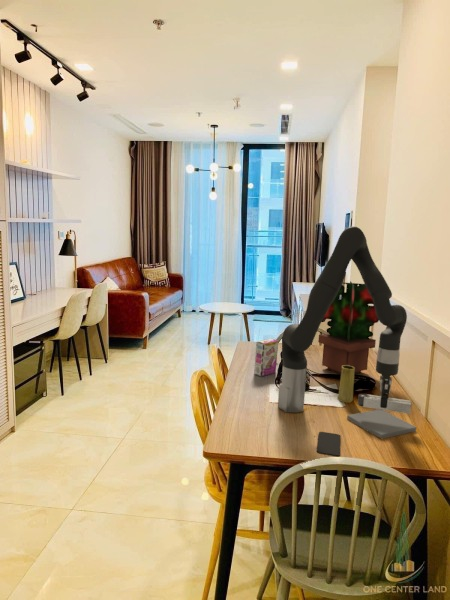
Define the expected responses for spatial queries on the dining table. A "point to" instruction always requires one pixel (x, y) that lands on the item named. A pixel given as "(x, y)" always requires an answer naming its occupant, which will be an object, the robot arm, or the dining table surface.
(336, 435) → the phone
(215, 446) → the dining table surface
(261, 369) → the candy bar box
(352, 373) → the vase
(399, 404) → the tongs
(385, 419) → the charcoal board
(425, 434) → the dining table surface
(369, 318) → the potted plant
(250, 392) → the dining table surface
